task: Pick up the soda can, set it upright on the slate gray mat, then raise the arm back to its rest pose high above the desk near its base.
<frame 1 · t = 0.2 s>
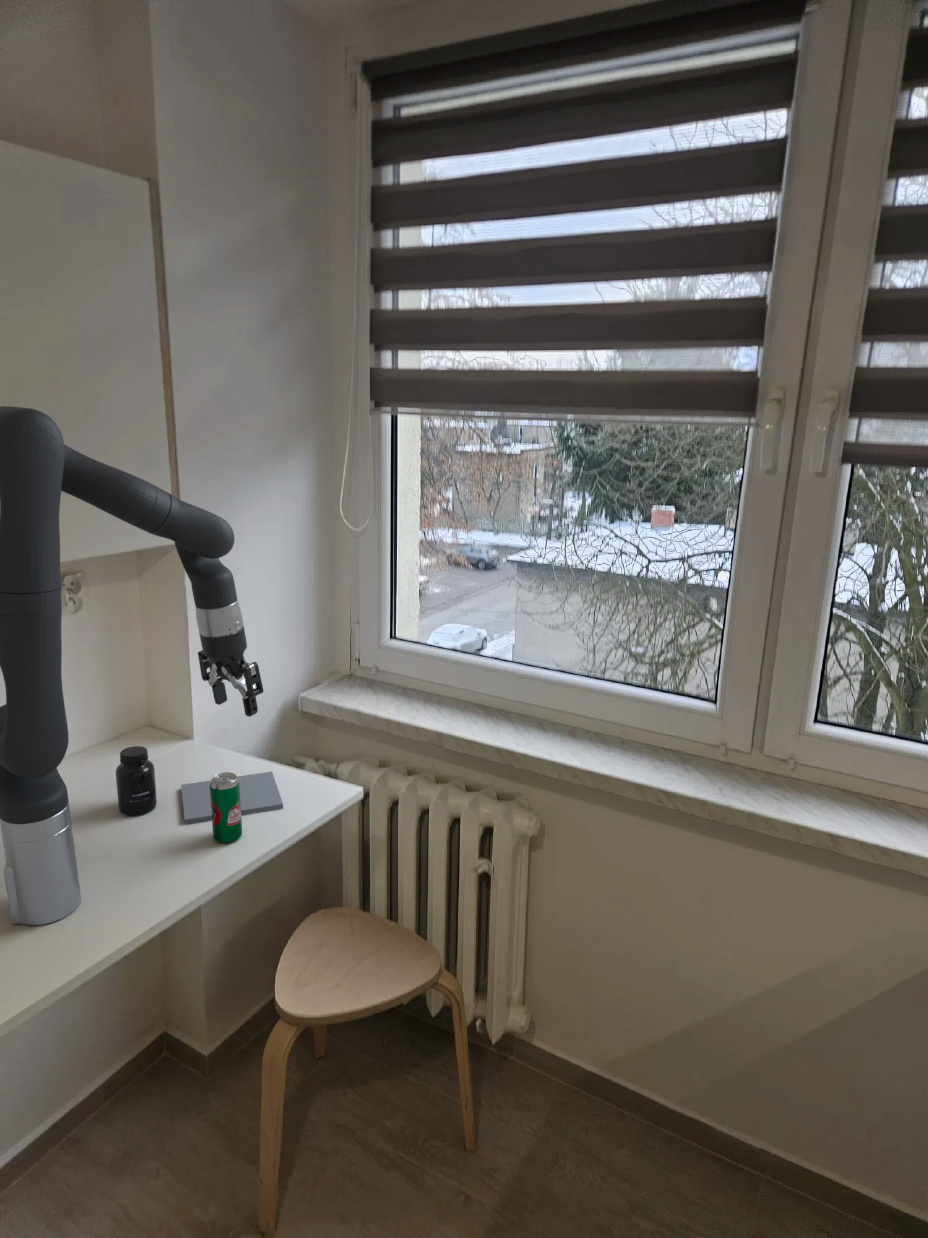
hand: (236, 708, 142), 22 cm above the table, tool pointing down, fingers open, 8 cm apart
soda can: (228, 838, 141), on the table
supplement bottle: (138, 809, 150), on the table
slate gray mat: (231, 798, 155), on the table
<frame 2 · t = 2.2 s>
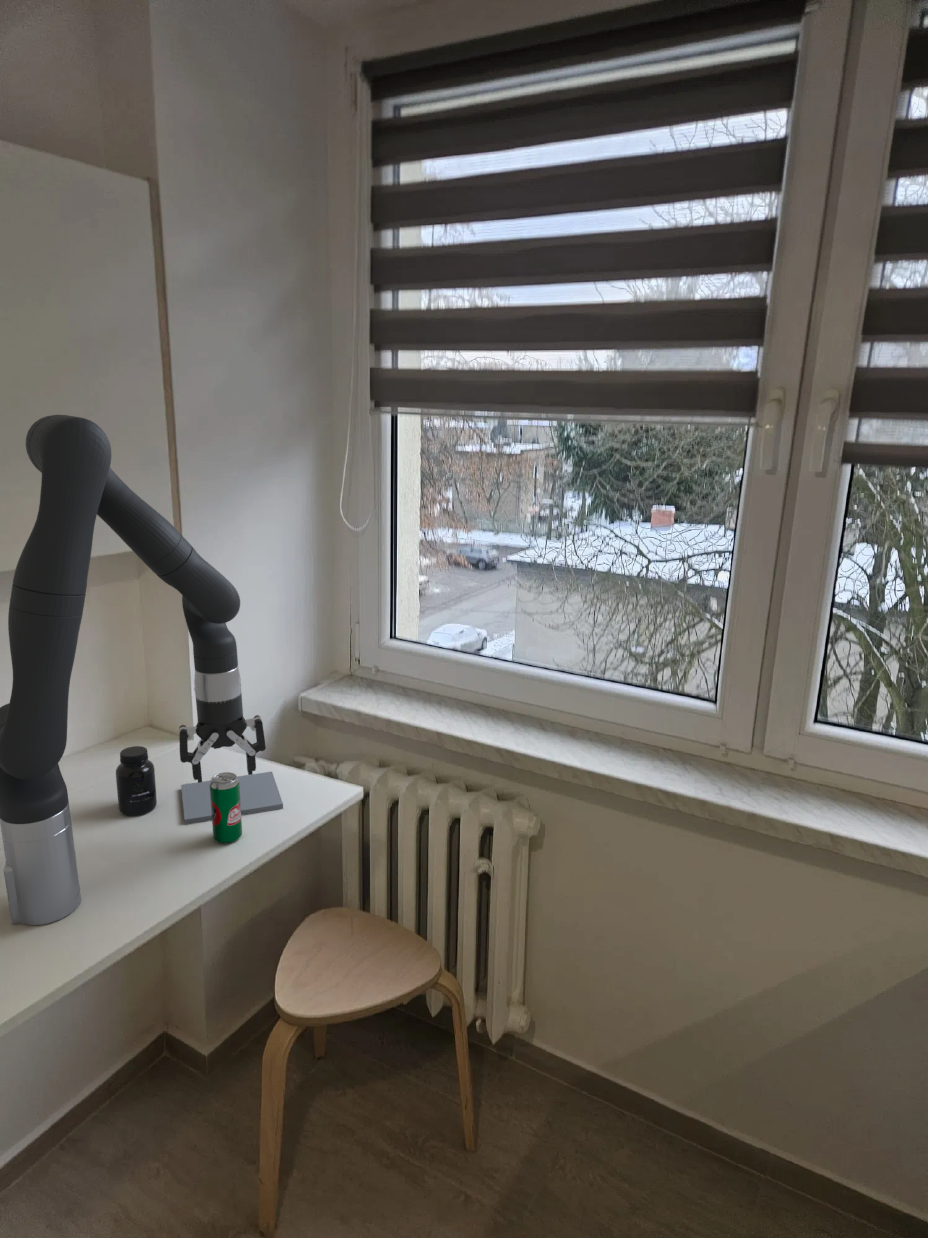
hand: (225, 776, 138), 12 cm above the table, tool pointing down, fingers open, 8 cm apart
nothing on the table moved.
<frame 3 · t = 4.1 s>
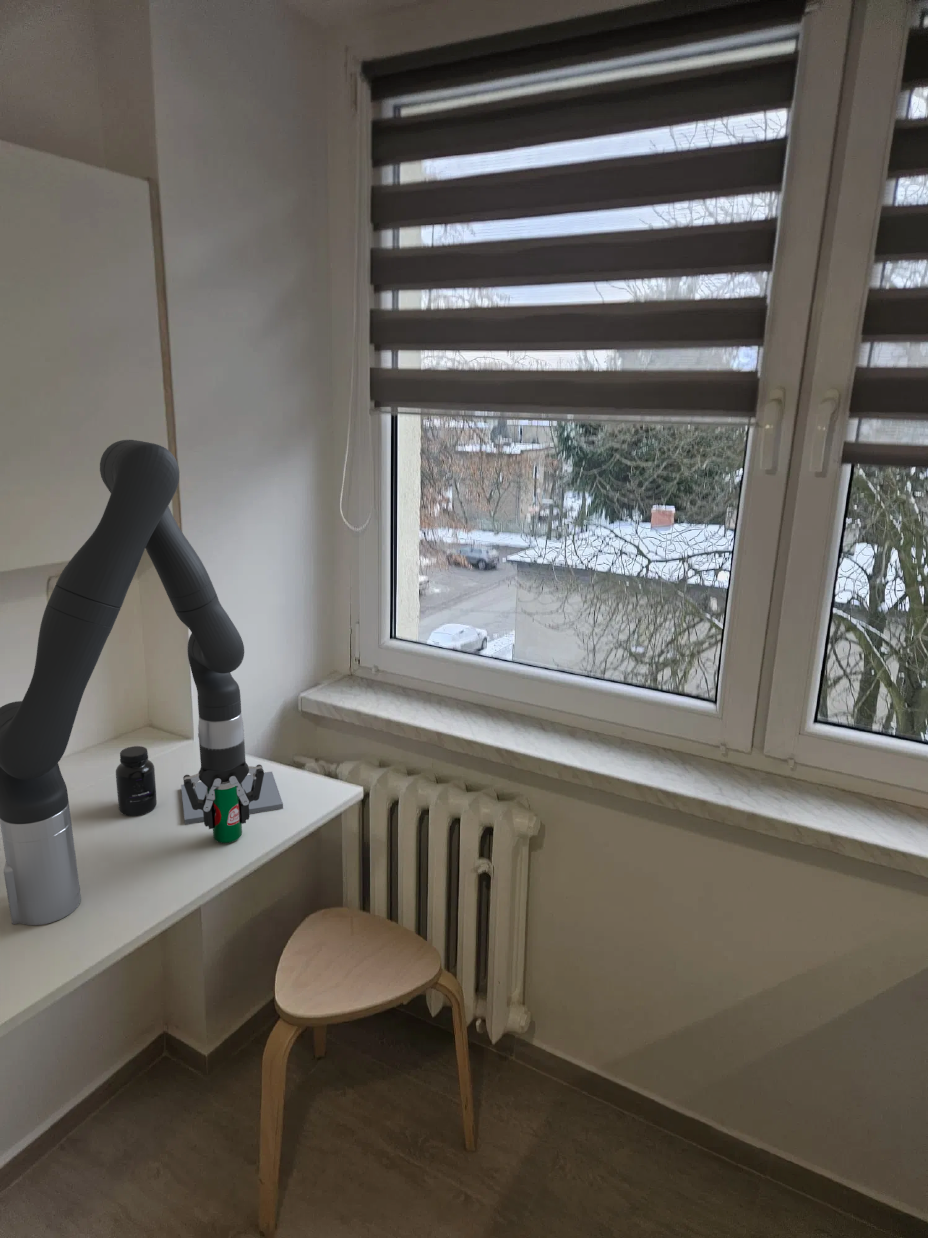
hand: (227, 823, 141), 3 cm above the table, tool pointing down, fingers closed on soda can, 5 cm apart
soda can: (228, 838, 141), on the table, touching gripper
everything else where it was.
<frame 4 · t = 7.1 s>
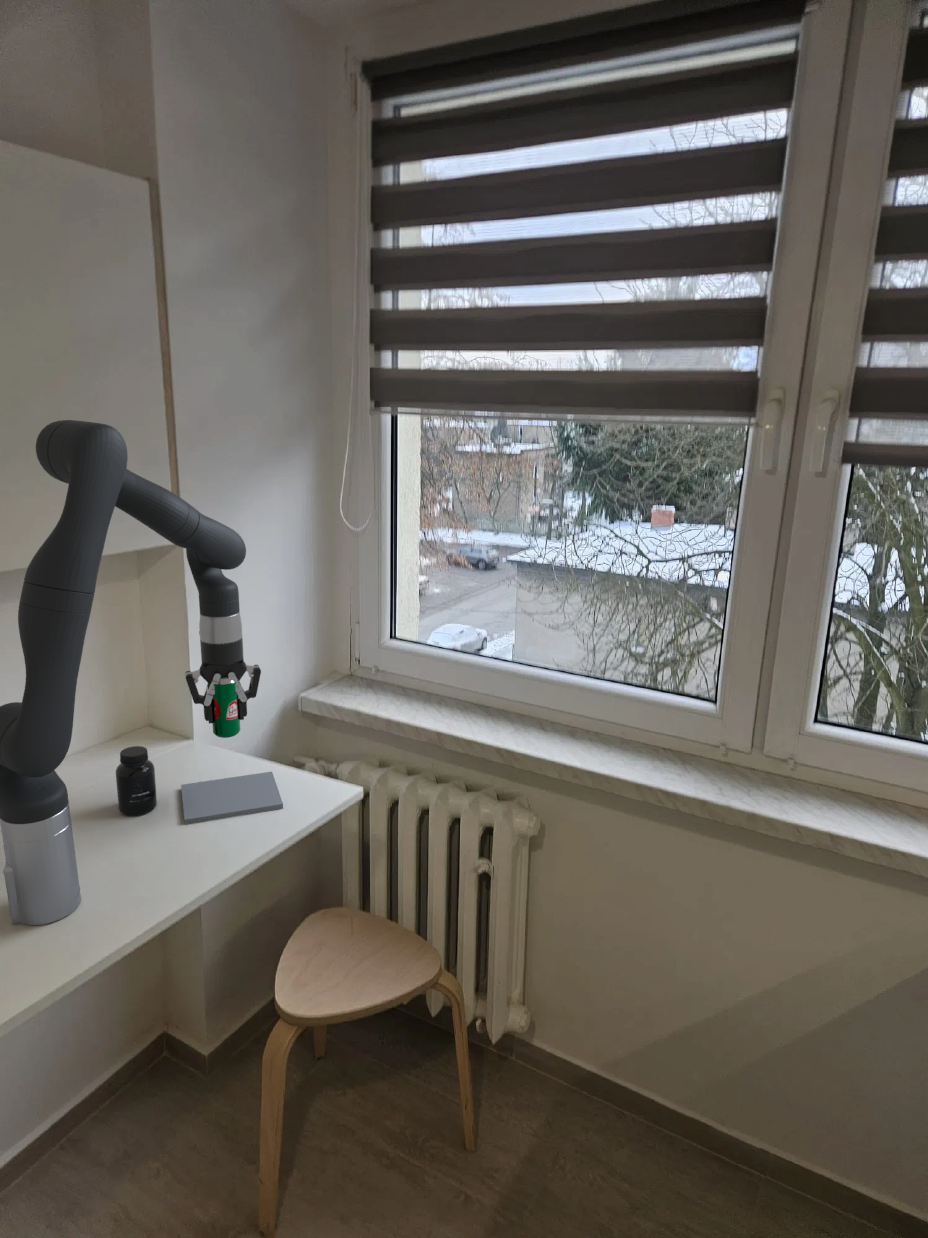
hand: (226, 719, 150), 17 cm above the table, tool pointing down, fingers closed on soda can, 5 cm apart
soda can: (227, 734, 150), point 14 cm above the table, touching gripper
everything else where it was.
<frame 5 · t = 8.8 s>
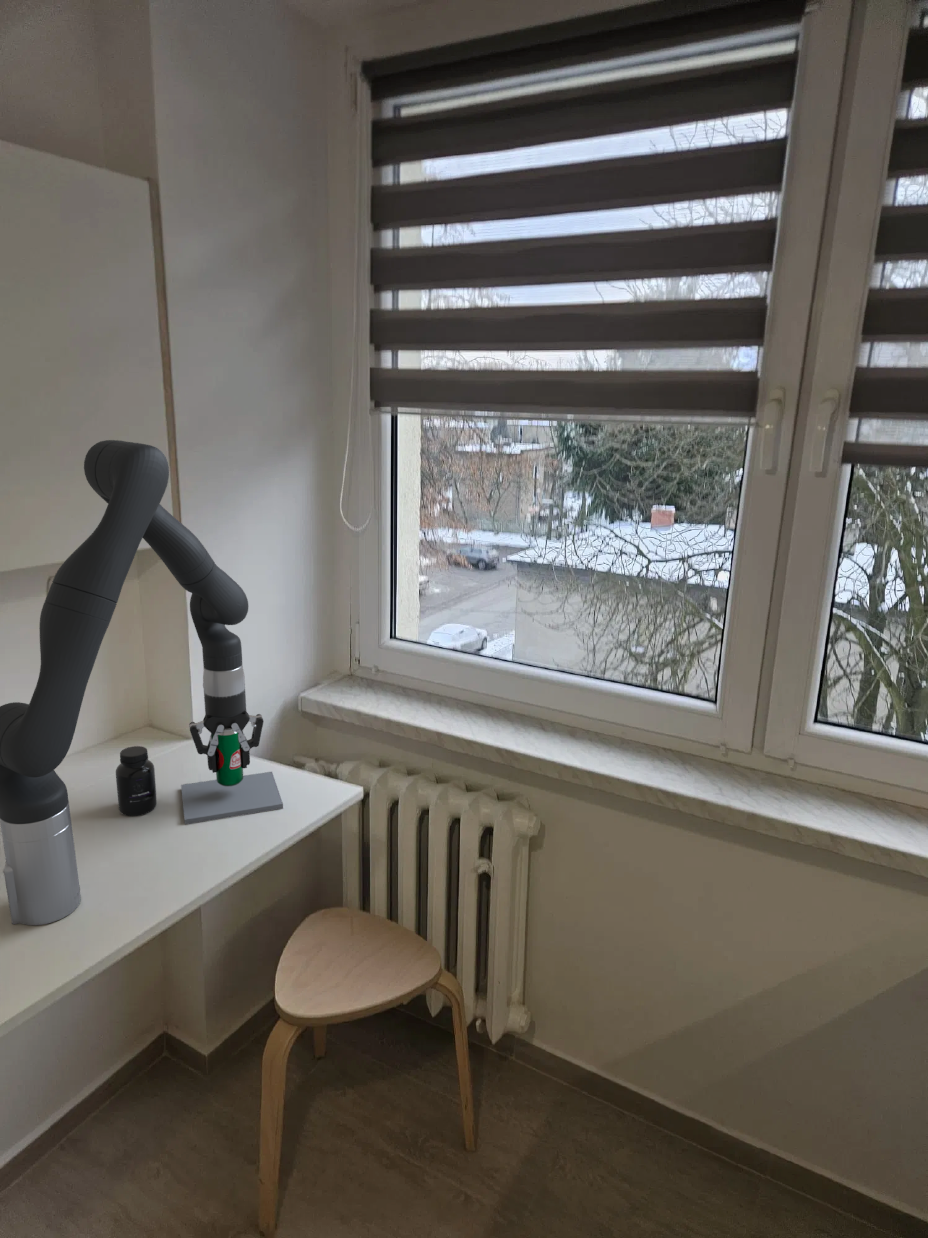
hand: (229, 768, 153), 7 cm above the table, tool pointing down, fingers closed on soda can, 5 cm apart
soda can: (230, 782, 153), point 4 cm above the table, touching gripper
everything else where it was.
when the fingers open (5 cm above the table, at t = 10.0 s): soda can drops 1 cm, resting on slate gray mat.
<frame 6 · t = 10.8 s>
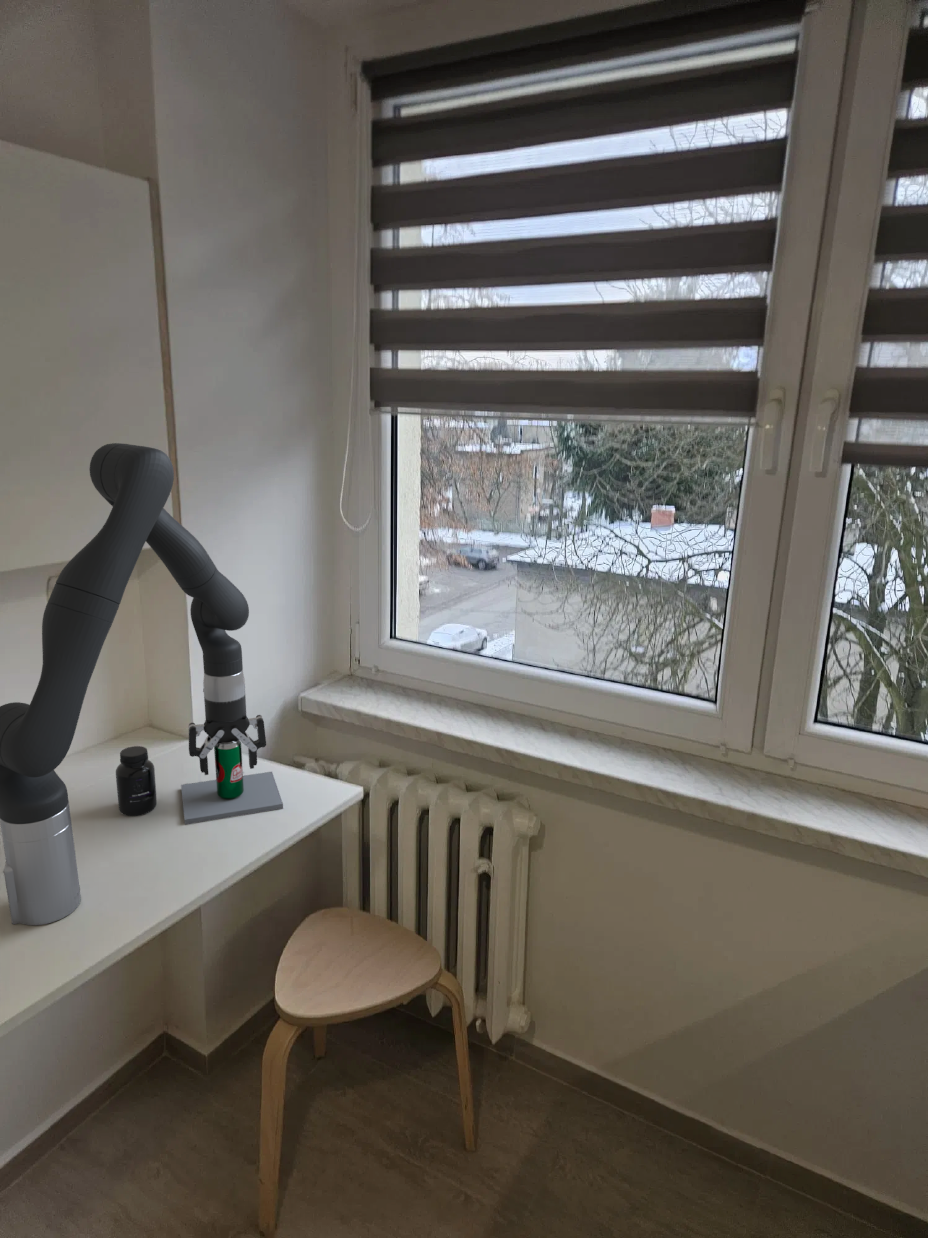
hand: (229, 770, 153), 6 cm above the table, tool pointing down, fingers open, 8 cm apart
soda can: (230, 795, 154), point 1 cm above the table, touching slate gray mat
everything else where it was.
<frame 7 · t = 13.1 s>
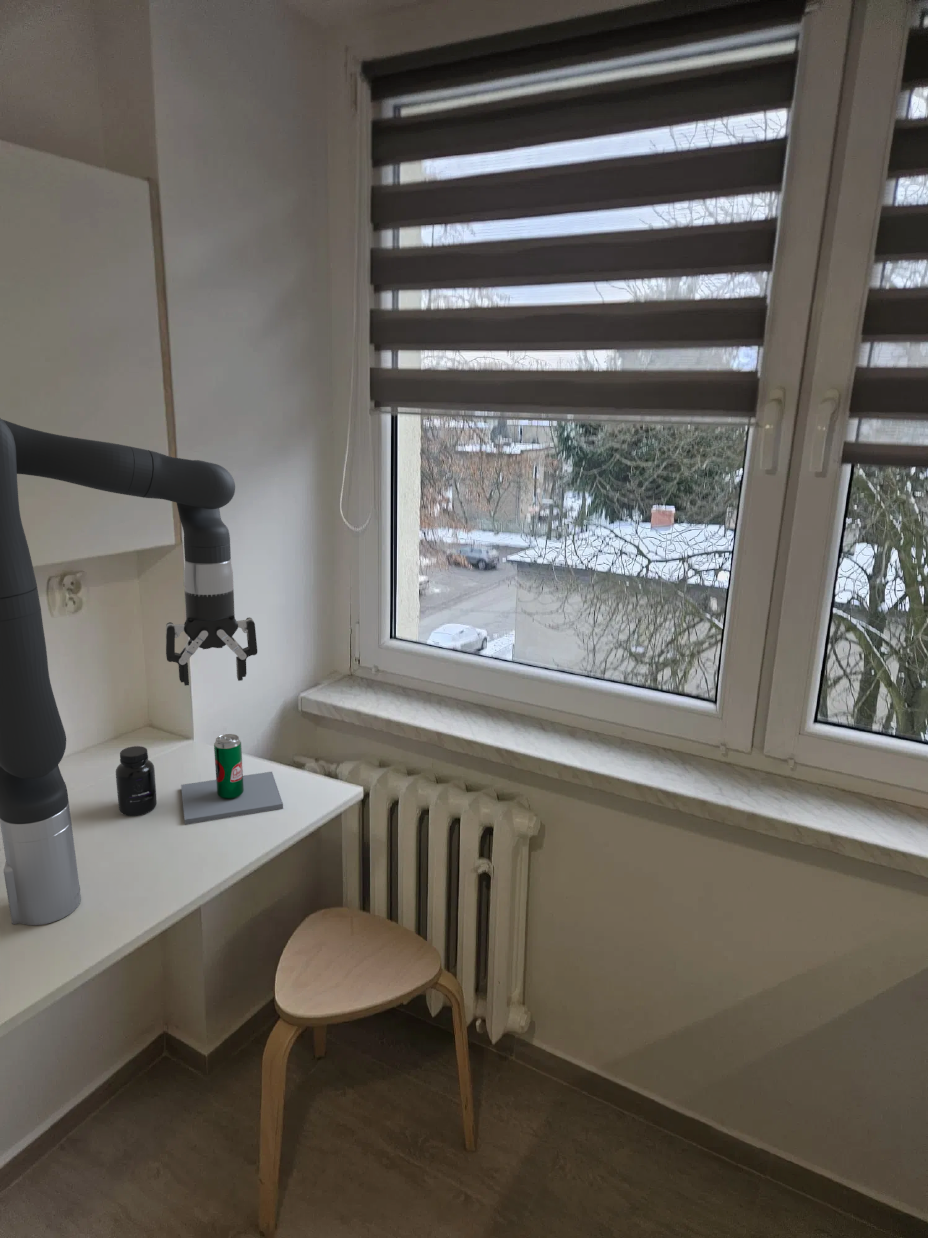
hand: (213, 681, 130), 31 cm above the table, tool pointing down, fingers open, 8 cm apart
nothing on the table moved.
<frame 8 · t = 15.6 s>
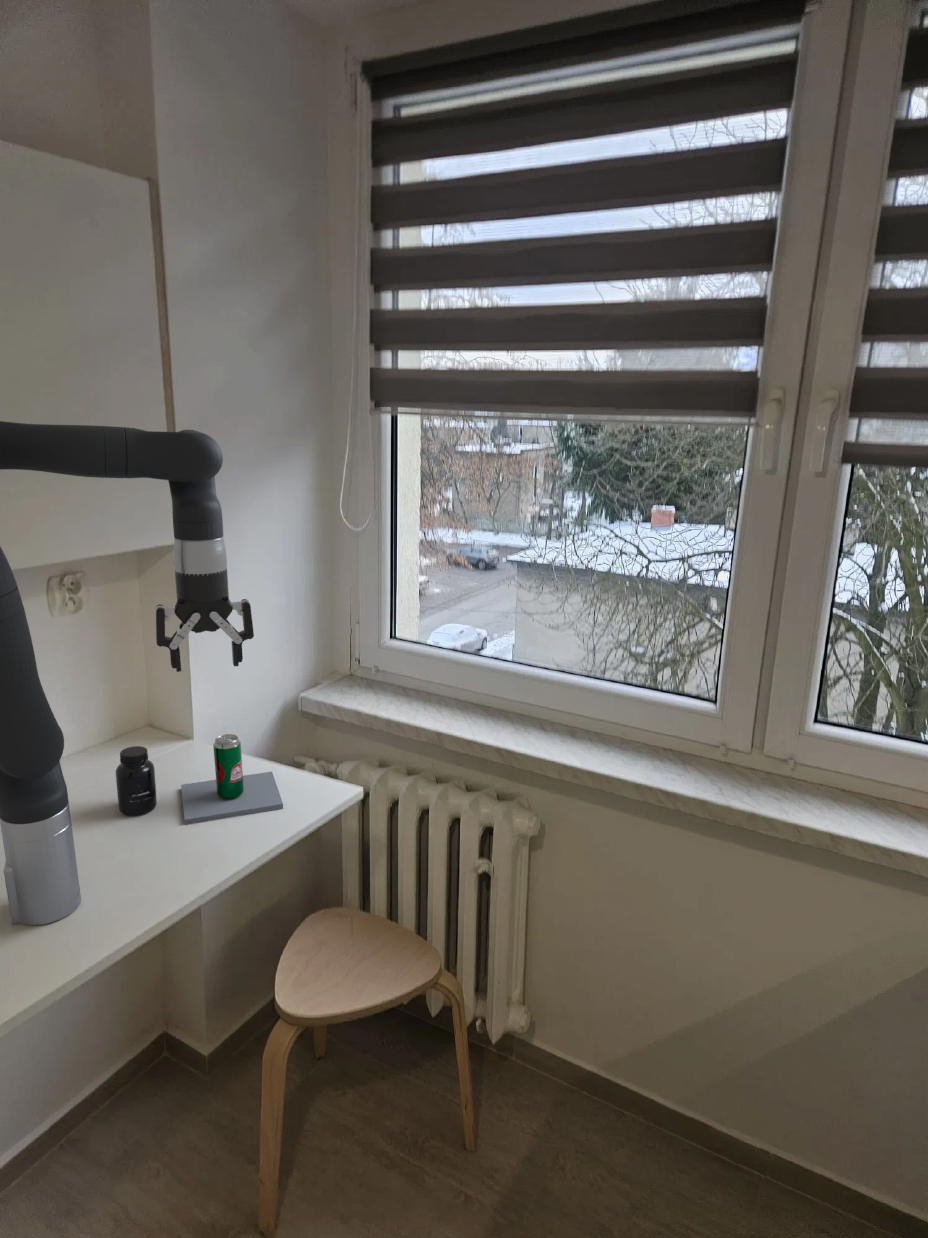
hand: (207, 667, 122), 36 cm above the table, tool pointing down, fingers open, 8 cm apart
nothing on the table moved.
at the end: soda can inside the target area on the slate gray mat (0.1 cm from its centre), point 0.8 cm above the slate gray mat's base; soda can tilted 1°; the gripper is holding nothing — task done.
